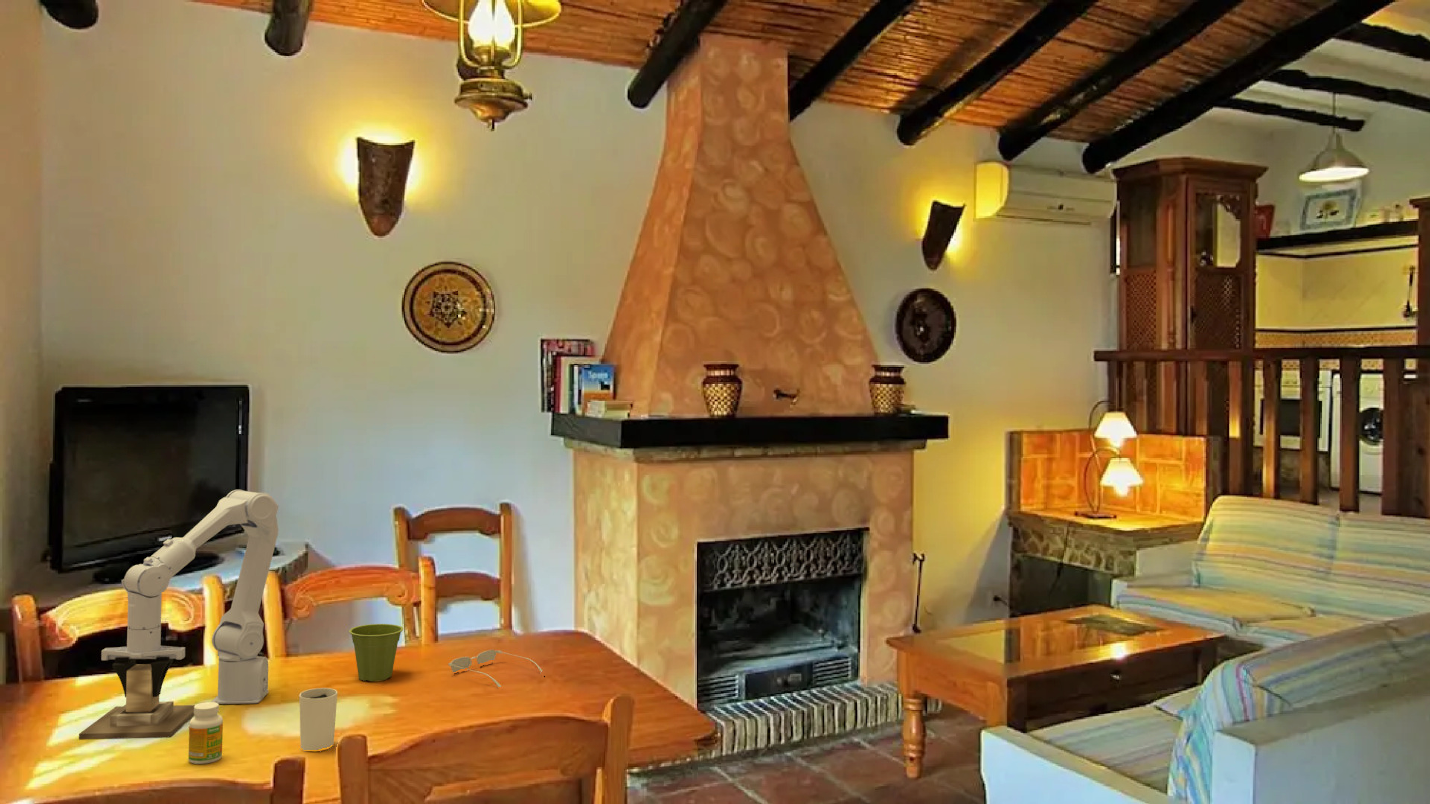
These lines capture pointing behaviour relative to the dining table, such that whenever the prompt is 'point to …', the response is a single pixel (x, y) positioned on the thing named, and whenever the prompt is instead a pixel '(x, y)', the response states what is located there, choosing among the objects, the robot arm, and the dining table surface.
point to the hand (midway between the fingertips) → (142, 695)
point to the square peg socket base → (140, 722)
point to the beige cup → (317, 718)
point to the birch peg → (140, 689)
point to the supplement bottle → (205, 734)
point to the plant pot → (375, 650)
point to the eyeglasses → (481, 658)
